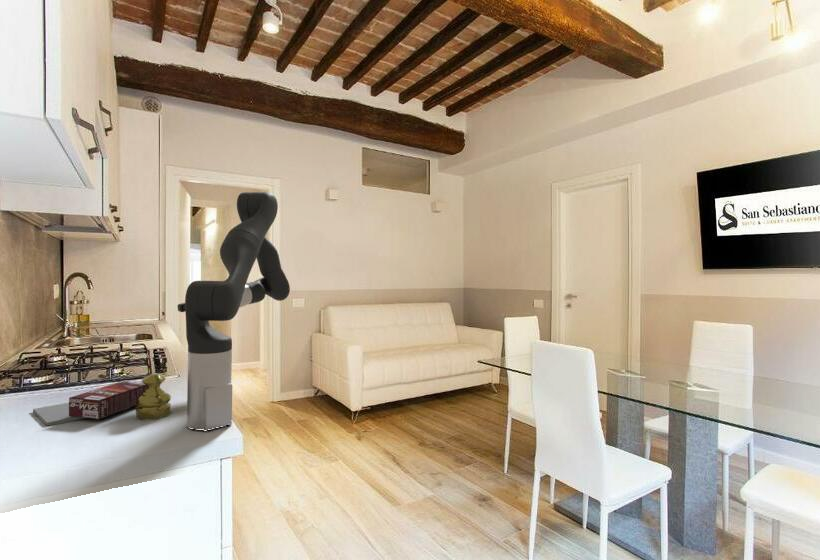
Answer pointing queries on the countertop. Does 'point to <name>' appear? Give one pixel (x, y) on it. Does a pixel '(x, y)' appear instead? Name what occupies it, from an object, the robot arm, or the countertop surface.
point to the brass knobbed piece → (153, 399)
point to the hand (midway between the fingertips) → (179, 308)
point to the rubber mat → (55, 414)
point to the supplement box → (106, 400)
